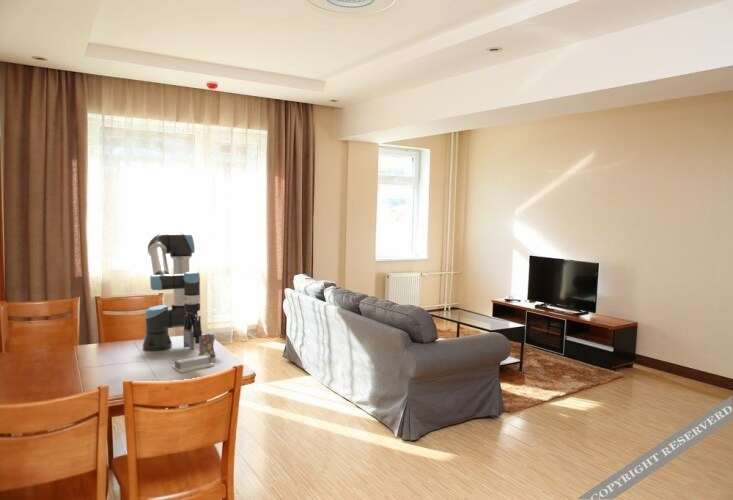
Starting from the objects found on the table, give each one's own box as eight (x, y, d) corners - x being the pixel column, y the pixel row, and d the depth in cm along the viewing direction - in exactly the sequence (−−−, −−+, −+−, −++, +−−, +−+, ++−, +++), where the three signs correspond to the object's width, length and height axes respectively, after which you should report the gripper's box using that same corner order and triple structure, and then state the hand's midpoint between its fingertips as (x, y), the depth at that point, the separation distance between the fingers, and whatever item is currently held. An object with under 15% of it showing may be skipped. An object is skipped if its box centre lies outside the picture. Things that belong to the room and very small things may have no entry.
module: (183, 347, 263) (183, 329, 262) (195, 345, 267) (194, 327, 266) (190, 350, 257) (190, 332, 256) (201, 348, 261) (201, 330, 260)
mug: (214, 352, 288) (214, 333, 287) (217, 357, 280) (217, 337, 279) (191, 354, 283) (191, 335, 282) (193, 359, 275) (193, 339, 274)
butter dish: (172, 367, 262) (171, 359, 261) (204, 360, 273) (204, 352, 273) (181, 372, 254) (180, 364, 253) (213, 365, 265) (213, 357, 265)
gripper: (176, 300, 265) (177, 344, 267) (193, 307, 250) (194, 353, 252) (190, 299, 270) (191, 342, 272) (208, 305, 255) (209, 350, 257)
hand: (192, 347), depth 262 cm, fingers closed on module, 8 cm apart
